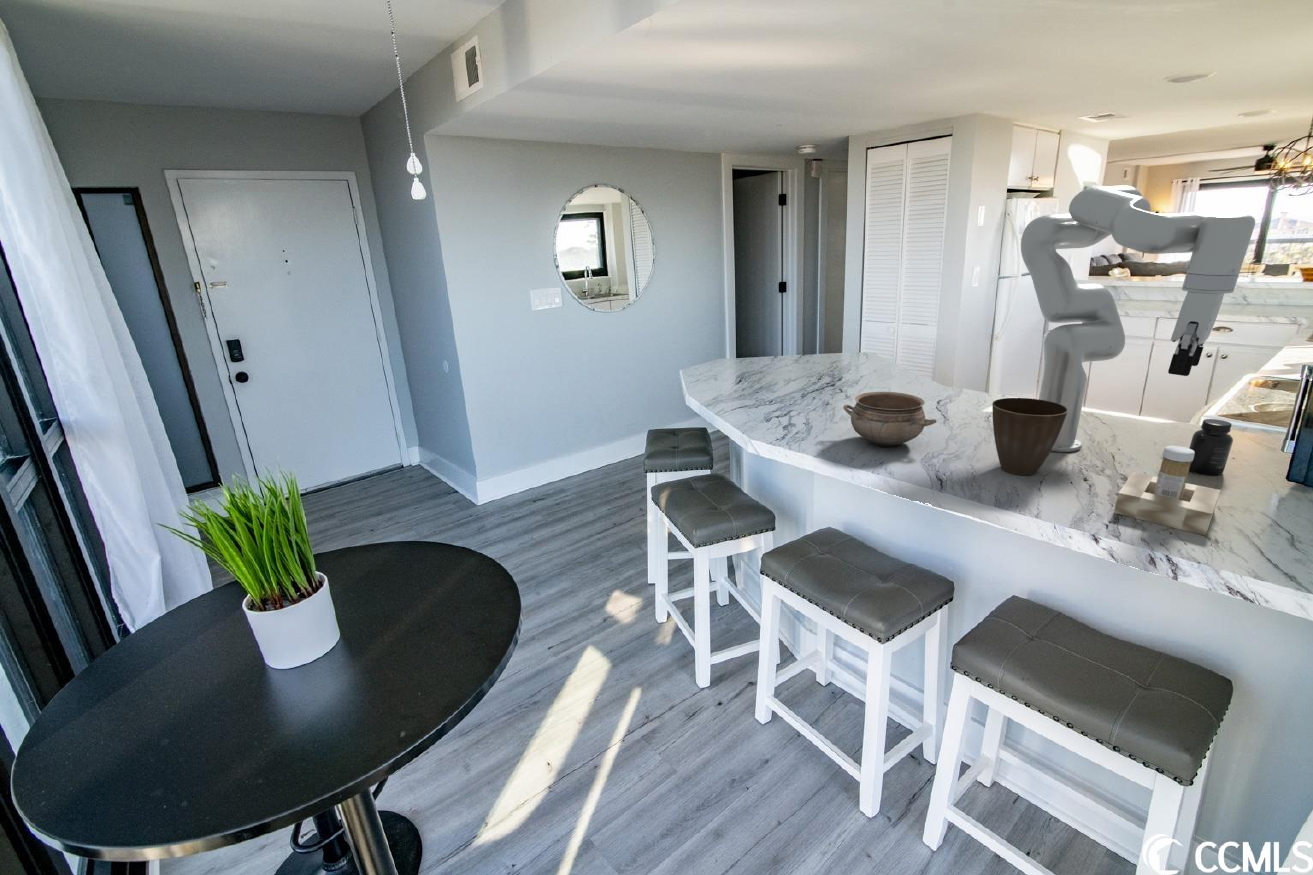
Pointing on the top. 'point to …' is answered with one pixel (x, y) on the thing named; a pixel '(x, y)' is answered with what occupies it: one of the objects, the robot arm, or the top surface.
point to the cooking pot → (888, 417)
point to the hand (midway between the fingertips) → (1182, 369)
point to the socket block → (1167, 504)
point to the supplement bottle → (1211, 447)
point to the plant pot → (1025, 432)
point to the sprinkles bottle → (1174, 471)
